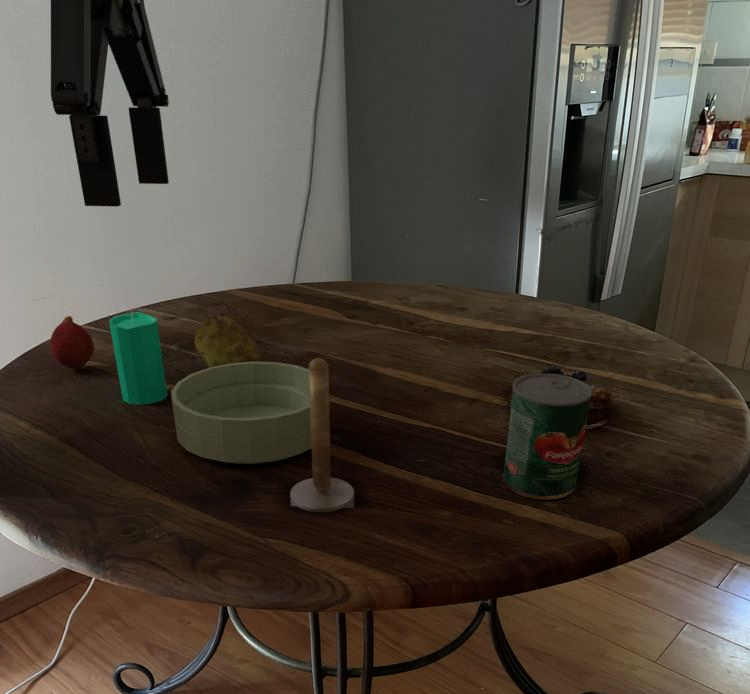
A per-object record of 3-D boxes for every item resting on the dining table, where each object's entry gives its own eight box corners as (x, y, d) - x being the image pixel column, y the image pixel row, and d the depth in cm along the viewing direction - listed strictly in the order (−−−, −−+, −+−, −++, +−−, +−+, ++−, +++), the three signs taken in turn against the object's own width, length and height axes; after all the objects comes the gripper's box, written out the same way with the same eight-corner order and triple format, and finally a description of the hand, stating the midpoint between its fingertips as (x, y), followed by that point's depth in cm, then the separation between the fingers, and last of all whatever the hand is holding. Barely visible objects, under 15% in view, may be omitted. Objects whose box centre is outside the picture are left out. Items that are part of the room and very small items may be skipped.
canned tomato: (558, 508, 75) (574, 409, 69) (489, 486, 79) (499, 390, 73) (587, 478, 81) (604, 384, 75) (521, 459, 84) (532, 368, 79)
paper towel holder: (286, 524, 72) (277, 370, 64) (295, 492, 77) (288, 346, 69) (351, 527, 72) (350, 372, 64) (356, 494, 77) (355, 348, 69)
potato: (210, 396, 100) (204, 339, 96) (194, 365, 110) (188, 312, 106) (270, 388, 102) (266, 332, 98) (249, 359, 113) (244, 307, 109)
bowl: (158, 466, 82) (150, 417, 79) (199, 403, 98) (194, 359, 95) (320, 471, 81) (319, 422, 78) (335, 406, 97) (335, 363, 94)
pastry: (543, 437, 89) (549, 392, 86) (496, 401, 99) (501, 359, 96) (619, 426, 93) (627, 382, 90) (567, 391, 102) (573, 351, 99)
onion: (65, 380, 104) (53, 325, 100) (49, 369, 108) (37, 315, 104) (104, 370, 108) (94, 316, 104) (87, 360, 111) (77, 308, 107)
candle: (128, 387, 102) (113, 301, 96) (172, 387, 102) (160, 301, 96) (117, 404, 97) (100, 314, 91) (163, 404, 97) (149, 314, 91)
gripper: (67, -155, 44) (125, 218, 55) (181, -82, 66) (206, 176, 76) (-55, -156, 44) (26, 216, 55) (98, -82, 66) (134, 175, 77)
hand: (130, 194), depth 66 cm, fingers open, 13 cm apart
